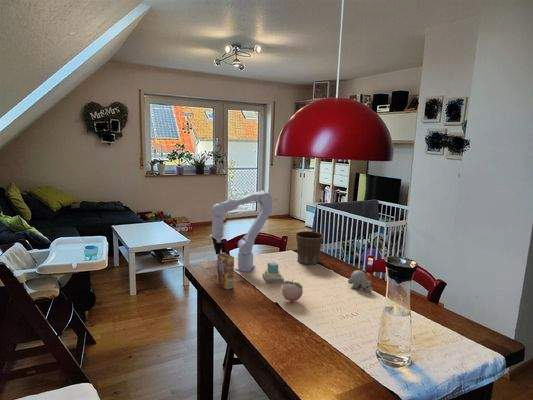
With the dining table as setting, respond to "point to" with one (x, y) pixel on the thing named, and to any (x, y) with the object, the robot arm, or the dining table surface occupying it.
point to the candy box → (225, 270)
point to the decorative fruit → (292, 290)
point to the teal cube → (273, 267)
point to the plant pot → (309, 246)
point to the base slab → (273, 279)
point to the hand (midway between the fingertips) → (217, 251)
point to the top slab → (272, 275)
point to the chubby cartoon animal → (360, 280)
